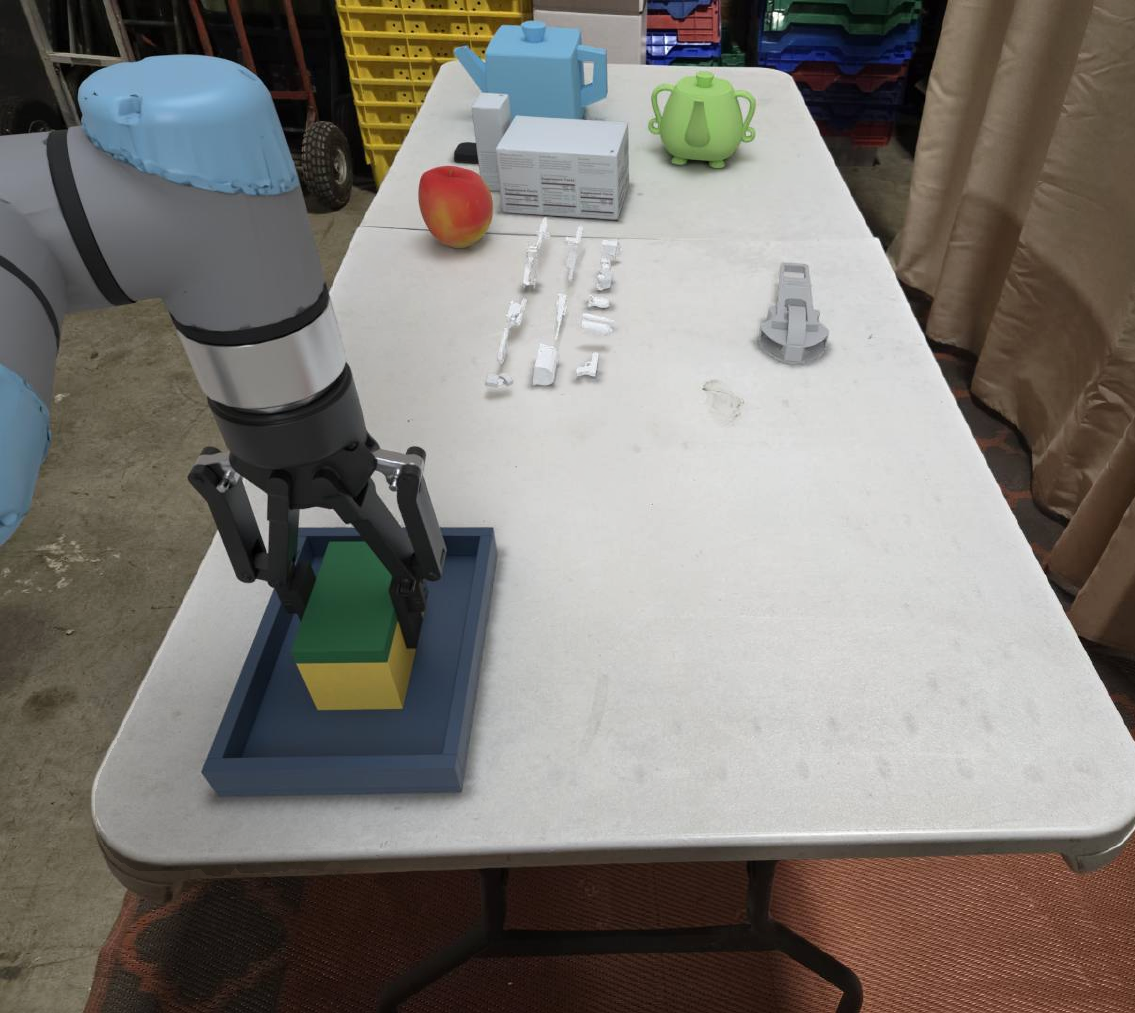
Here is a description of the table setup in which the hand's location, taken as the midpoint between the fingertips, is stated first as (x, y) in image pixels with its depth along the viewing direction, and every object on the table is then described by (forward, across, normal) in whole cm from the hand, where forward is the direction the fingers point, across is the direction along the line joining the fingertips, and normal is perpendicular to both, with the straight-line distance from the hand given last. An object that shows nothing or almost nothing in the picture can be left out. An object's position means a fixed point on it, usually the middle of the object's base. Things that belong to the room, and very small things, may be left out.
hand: (369, 633), depth 62 cm
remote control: (+3, +1, -97) cm, 97 cm away
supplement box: (+3, -10, -83) cm, 83 cm away
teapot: (+4, -31, -99) cm, 104 cm away
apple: (+3, +3, -68) cm, 68 cm away
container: (+3, -3, -113) cm, 113 cm away
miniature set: (+3, -12, -50) cm, 52 cm away
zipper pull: (+4, -39, -49) cm, 63 cm away
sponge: (+2, 0, 0) cm, 2 cm away
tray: (+3, 0, 0) cm, 3 cm away
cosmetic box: (+3, 0, -87) cm, 87 cm away
